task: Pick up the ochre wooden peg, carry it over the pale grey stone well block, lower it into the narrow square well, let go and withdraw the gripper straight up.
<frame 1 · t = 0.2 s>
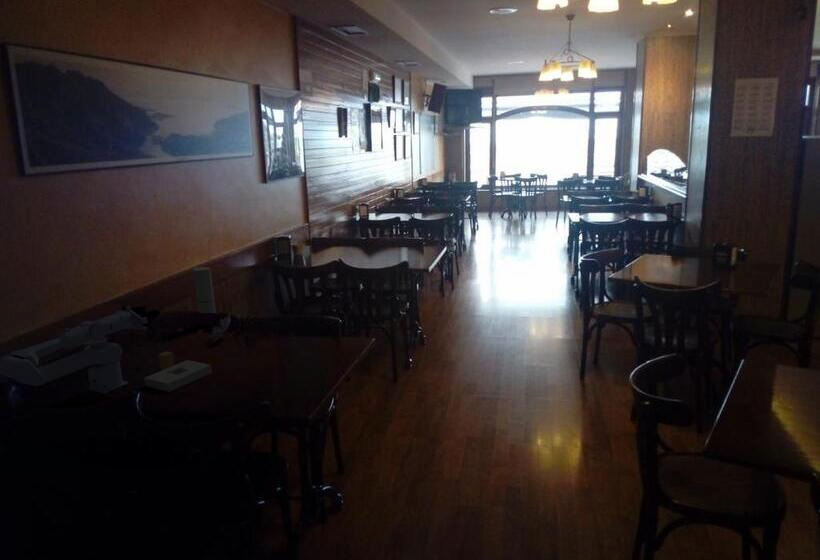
hand: (151, 310, 221), 21 cm above the table, tool horizontal, fingers open, 7 cm apart
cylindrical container: (208, 324, 276), on the table
peg: (168, 369, 223), on the table
water lily: (221, 339, 254), on the table
well block: (179, 379, 213), on the table
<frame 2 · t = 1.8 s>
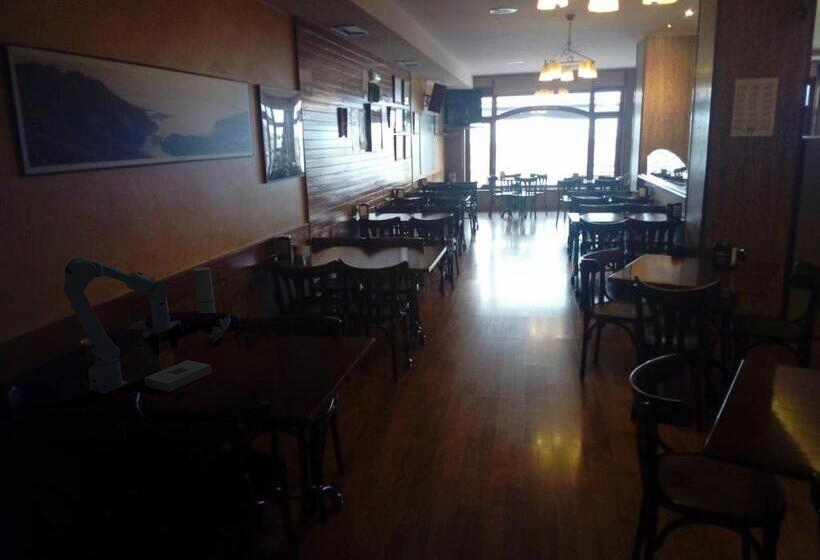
hand: (165, 350, 221), 7 cm above the table, tool pointing down, fingers open, 7 cm apart
nothing on the table moved.
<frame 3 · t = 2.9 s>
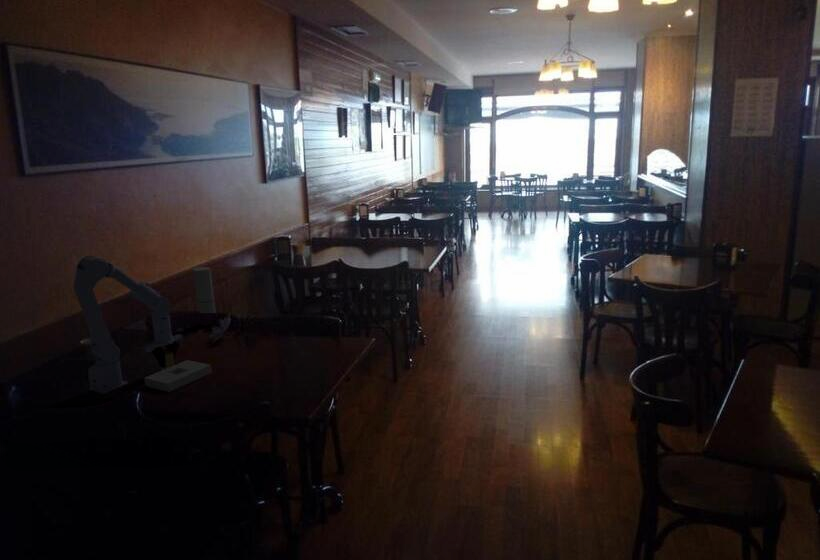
hand: (167, 364, 222), 2 cm above the table, tool pointing down, fingers closed on peg, 3 cm apart
peg: (168, 369, 223), on the table, touching gripper
everything else where it was.
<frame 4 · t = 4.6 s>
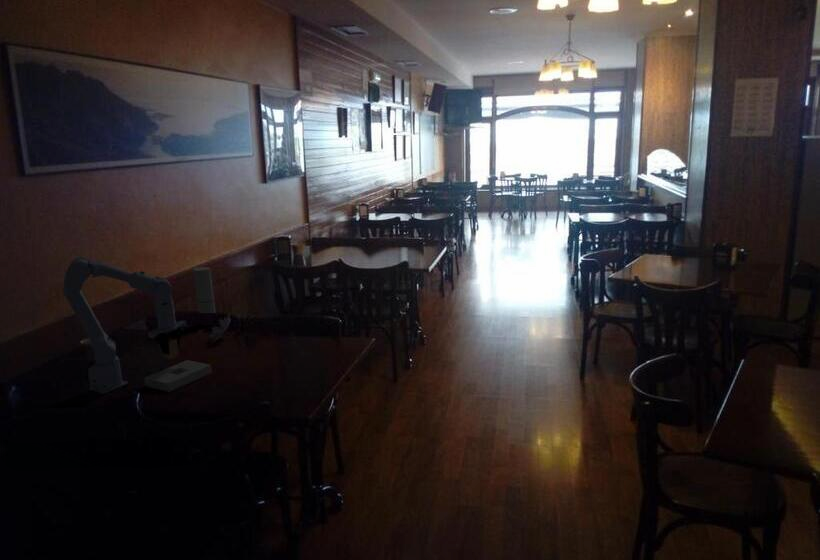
hand: (171, 351, 215), 8 cm above the table, tool pointing down, fingers closed on peg, 3 cm apart
peg: (171, 356, 216), point 7 cm above the table, touching gripper
everything else where it was.
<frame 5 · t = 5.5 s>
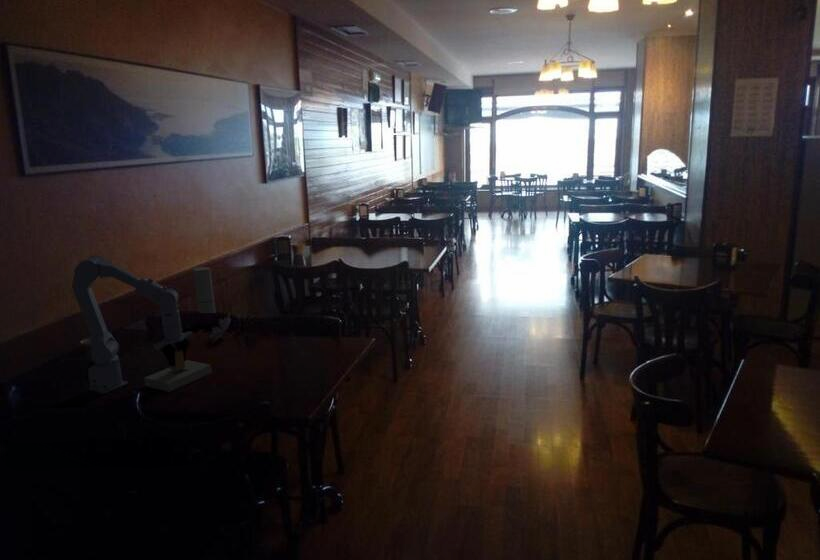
hand: (177, 363, 211), 6 cm above the table, tool pointing down, fingers closed on peg, 3 cm apart
peg: (177, 368, 212), point 4 cm above the table, touching gripper
everything else where it was.
when the fingers open (4 cm above the table, at t = 6.2 s): peg drops 2 cm, resting in well block.
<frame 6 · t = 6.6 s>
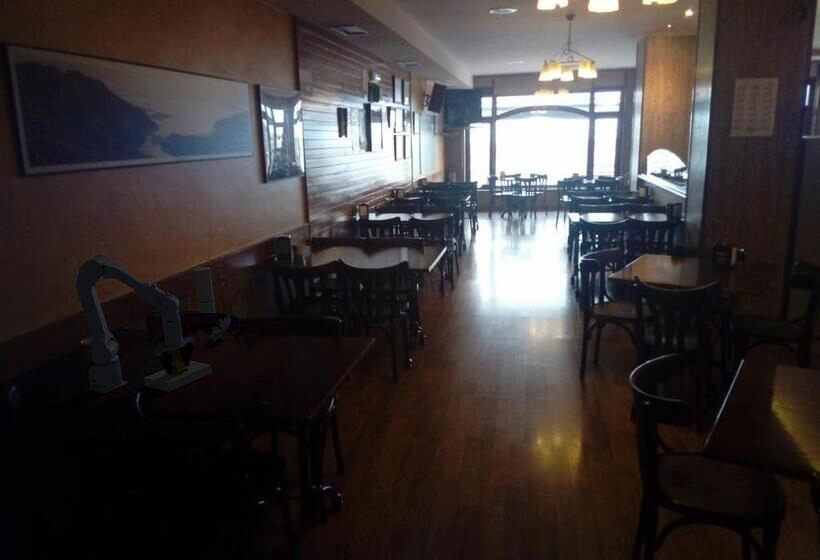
hand: (178, 369, 212), 4 cm above the table, tool pointing down, fingers open, 7 cm apart
peg: (178, 379, 213), resting in well block
everything else where it was.
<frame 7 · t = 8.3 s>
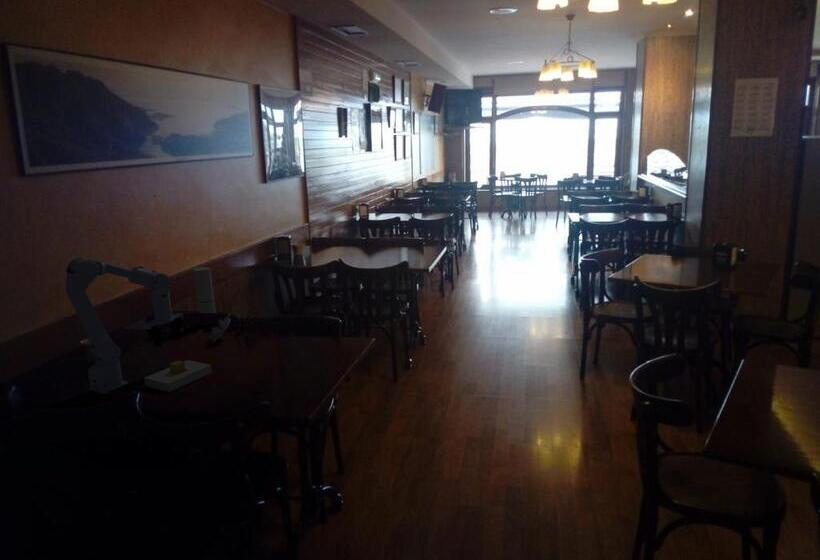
hand: (167, 342, 222), 9 cm above the table, tool pointing down, fingers open, 7 cm apart
nothing on the table moved.
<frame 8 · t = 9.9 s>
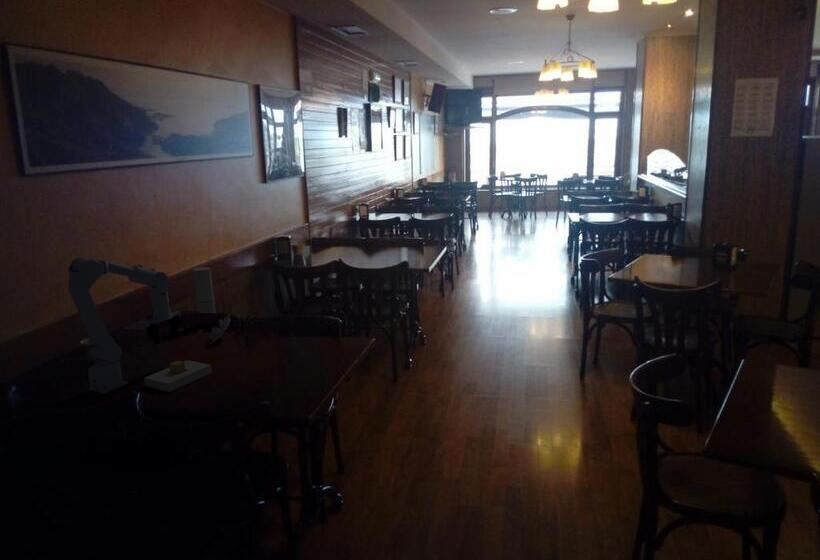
hand: (165, 340, 225), 9 cm above the table, tool pointing down, fingers open, 7 cm apart
nothing on the table moved.
at the end: peg 0.2 cm off-centre on the well block, point 0.0 cm above the well block's base; peg tilted 0°; the gripper is holding nothing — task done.
